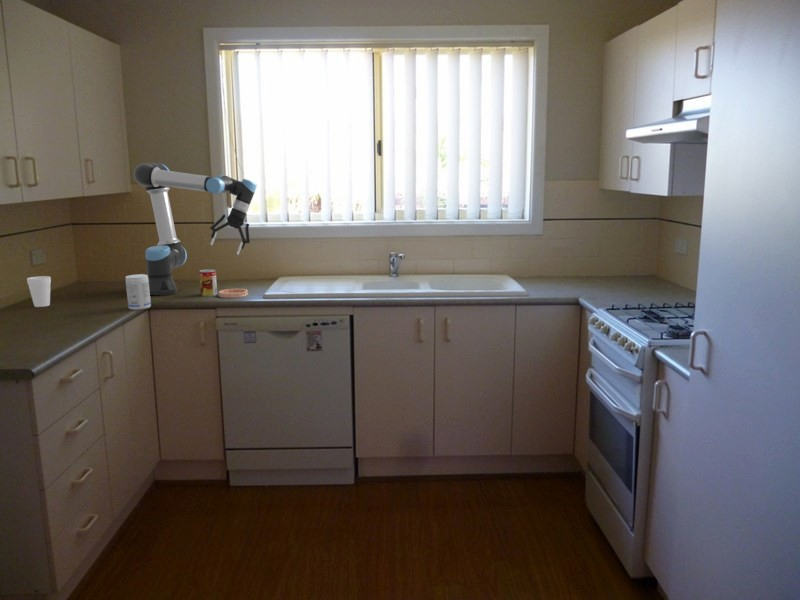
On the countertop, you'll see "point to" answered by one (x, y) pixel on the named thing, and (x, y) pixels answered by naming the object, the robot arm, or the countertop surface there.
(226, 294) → the terracotta dish
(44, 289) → the foam cup
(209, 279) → the canned food
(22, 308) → the countertop surface
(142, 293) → the supplement tub
